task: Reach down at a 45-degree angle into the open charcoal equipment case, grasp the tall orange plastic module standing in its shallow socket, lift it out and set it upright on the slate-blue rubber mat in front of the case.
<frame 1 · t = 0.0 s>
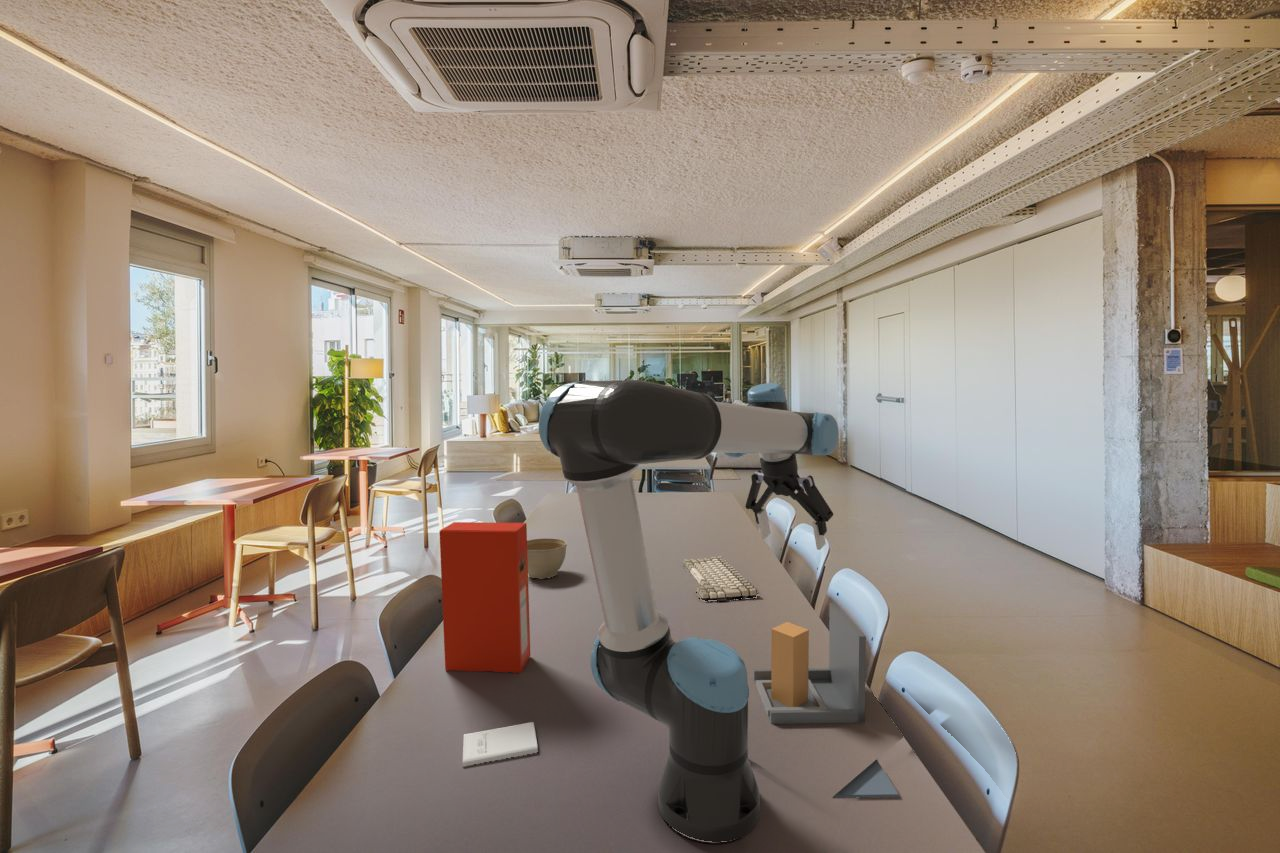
hand: (792, 541, 128), 28 cm above the table, tool tilted 20°, fingers open, 13 cm apart
module: (789, 699, 111), point 1 cm above the table, touching case
file binder: (488, 664, 130), on the table
case: (805, 706, 111), on the table
planter bowl: (543, 575, 192), on the table
mechanical keyboard: (714, 582, 185), on the table
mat: (853, 775, 91), on the table
external hard drive: (500, 749, 100), on the table
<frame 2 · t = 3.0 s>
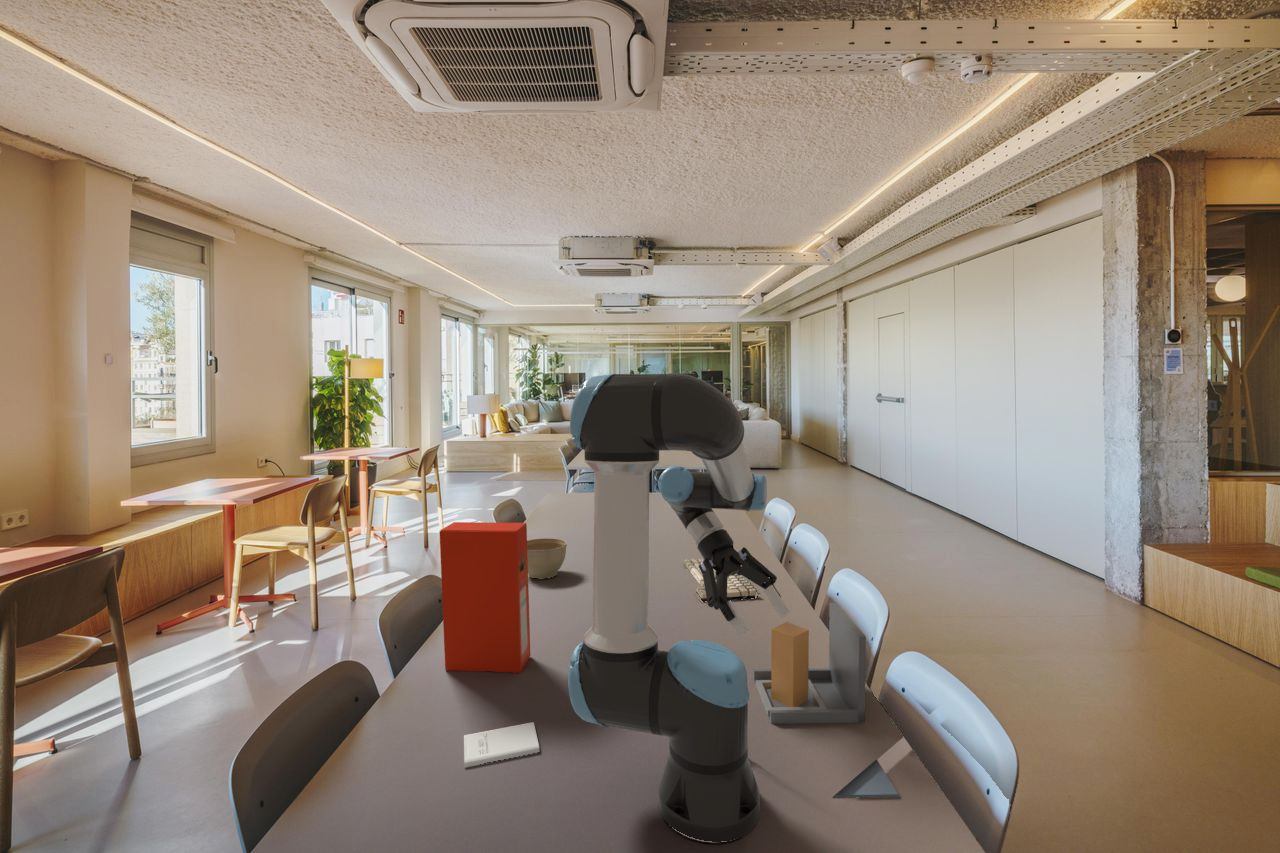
hand: (765, 624, 116), 14 cm above the table, tool tilted 45°, fingers open, 13 cm apart
nothing on the table moved.
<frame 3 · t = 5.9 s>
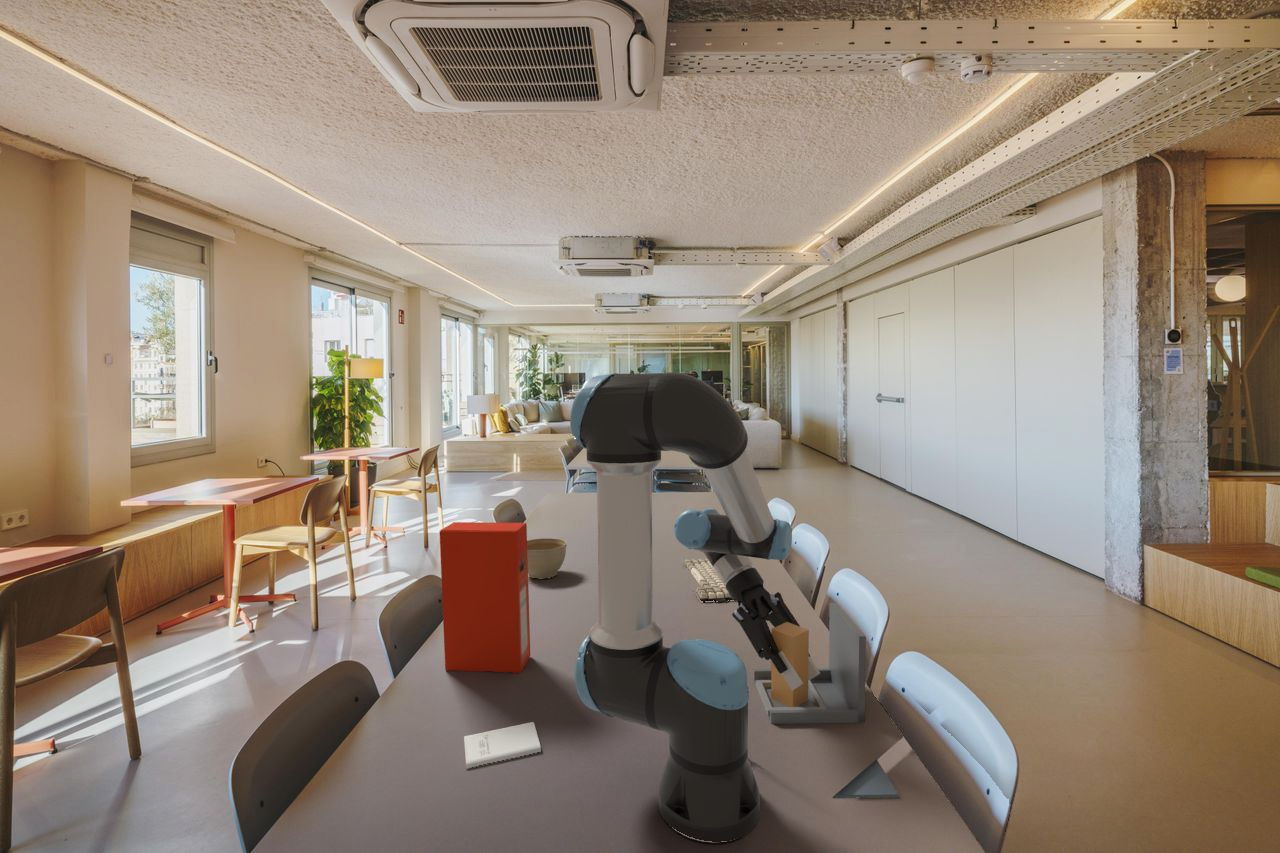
hand: (806, 681, 108), 6 cm above the table, tool tilted 45°, fingers closed on module, 5 cm apart
module: (789, 699, 111), point 2 cm above the table, touching case, gripper
everything else where it was.
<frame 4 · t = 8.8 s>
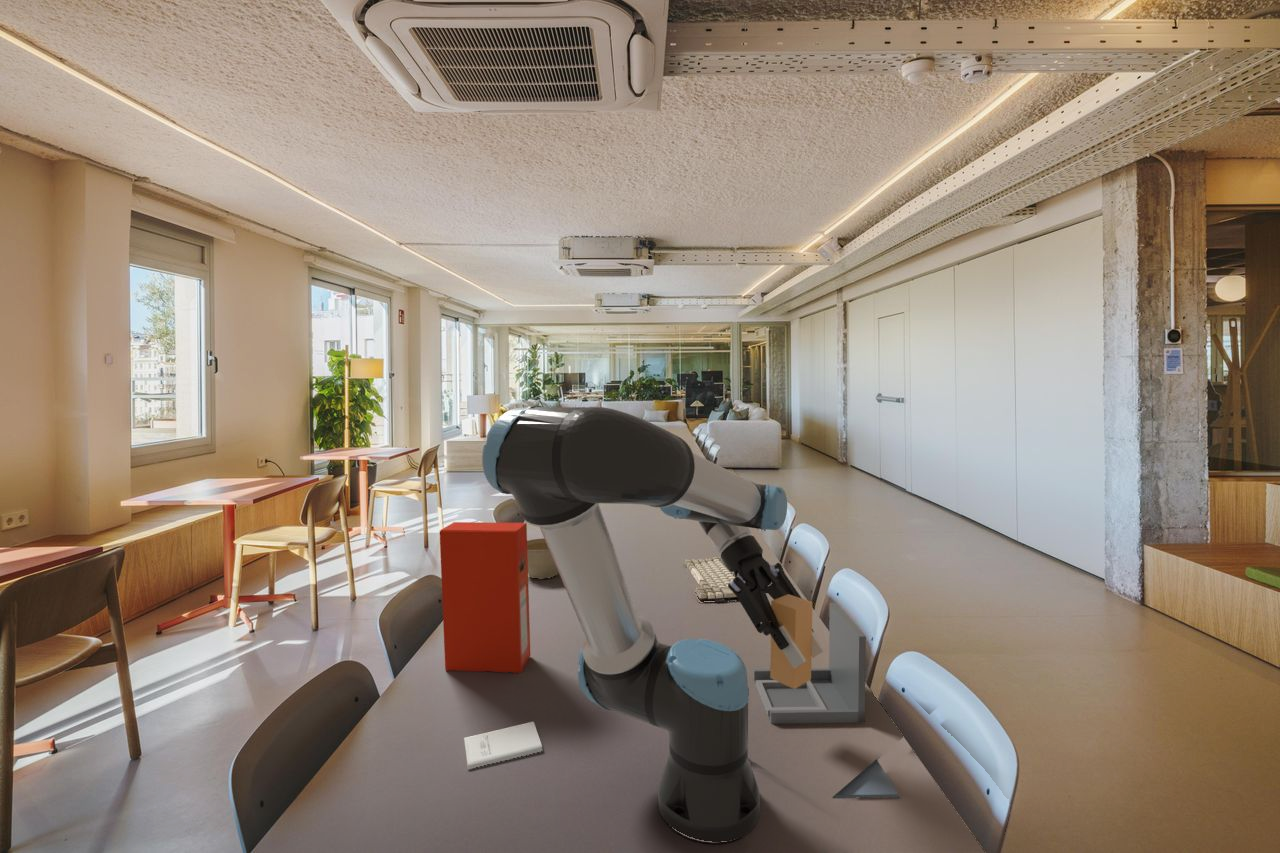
hand: (809, 659, 97), 16 cm above the table, tool tilted 45°, fingers closed on module, 5 cm apart
module: (790, 678, 101), point 11 cm above the table, touching gripper
everything else where it was.
when the fingers open (7 cm above the table, at t = 11.7 s): module drops 1 cm, resting on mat.
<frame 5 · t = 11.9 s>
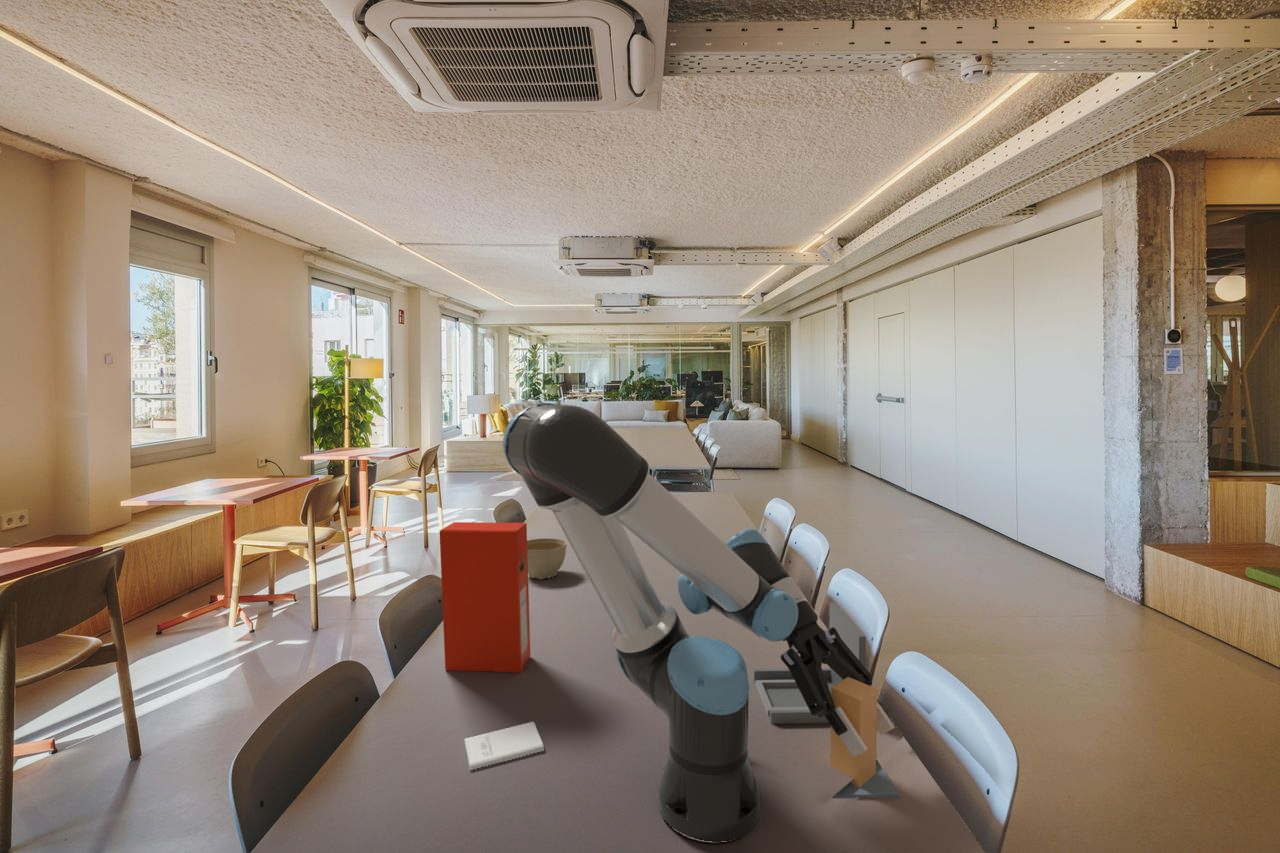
hand: (874, 741, 88), 7 cm above the table, tool tilted 45°, fingers open, 8 cm apart
module: (853, 772, 91), point 1 cm above the table, touching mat
everything else where it was.
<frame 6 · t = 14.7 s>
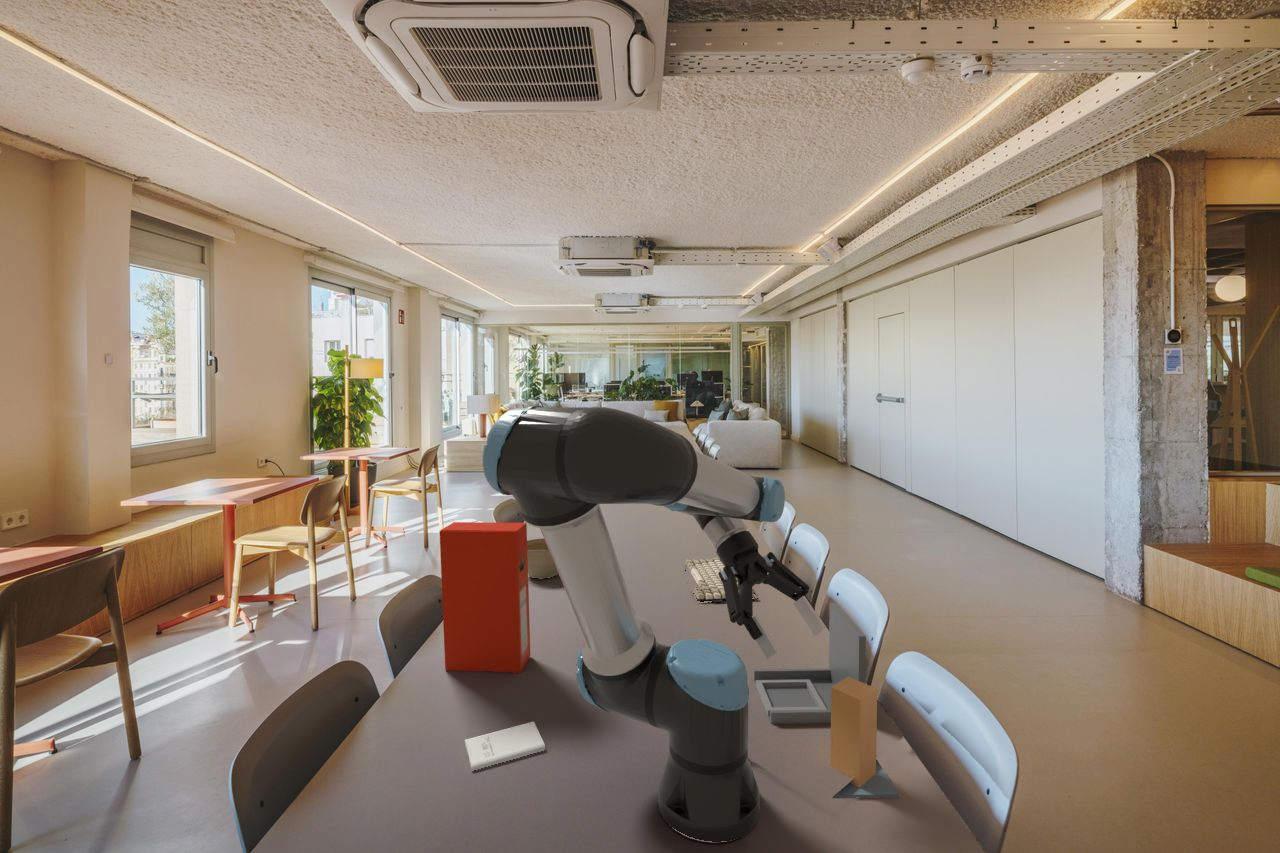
hand: (798, 643, 98), 18 cm above the table, tool tilted 45°, fingers open, 13 cm apart
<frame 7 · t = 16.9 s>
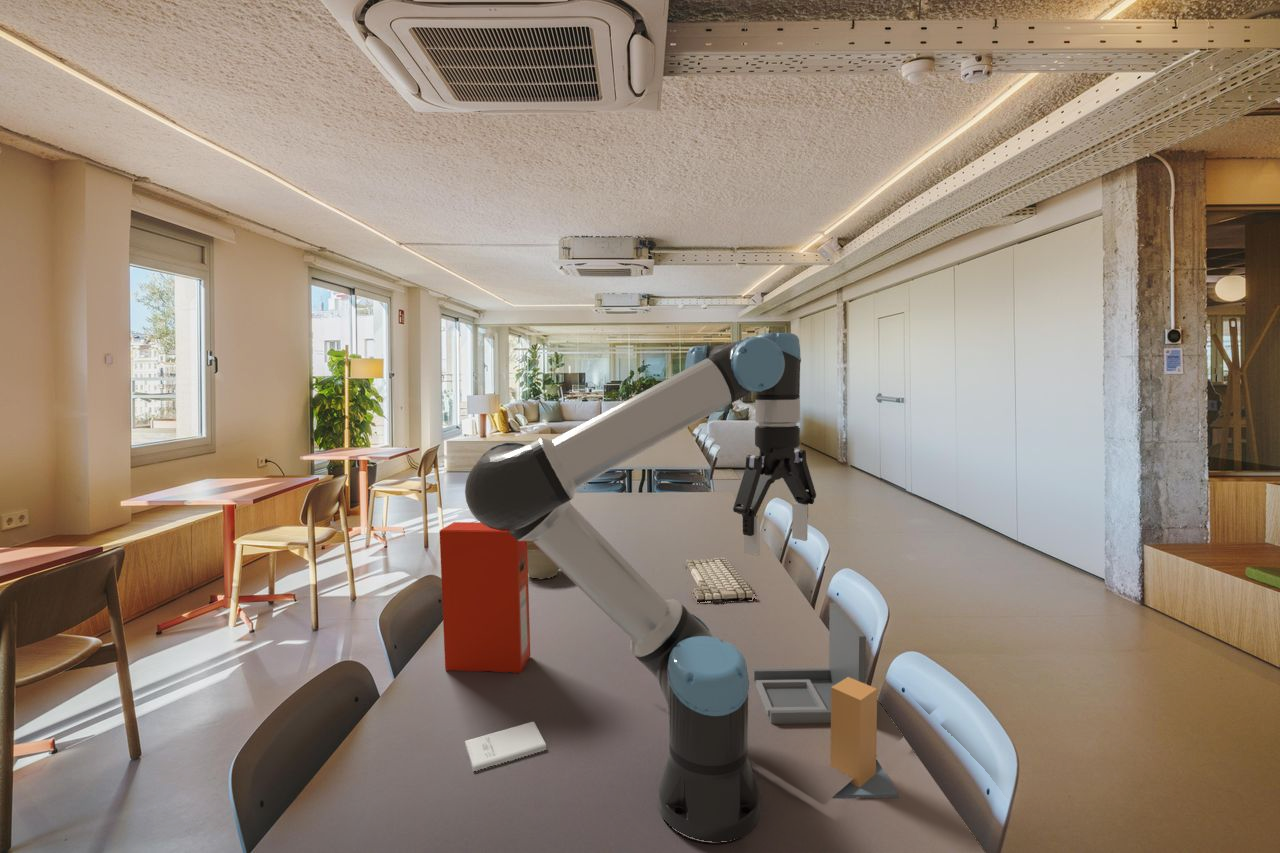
hand: (776, 546, 99), 35 cm above the table, tool pointing down, fingers open, 13 cm apart
at the end: module 0.1 cm off-centre on the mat, point 0.5 cm above the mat's base; module tilted 0°; the gripper is holding nothing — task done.
